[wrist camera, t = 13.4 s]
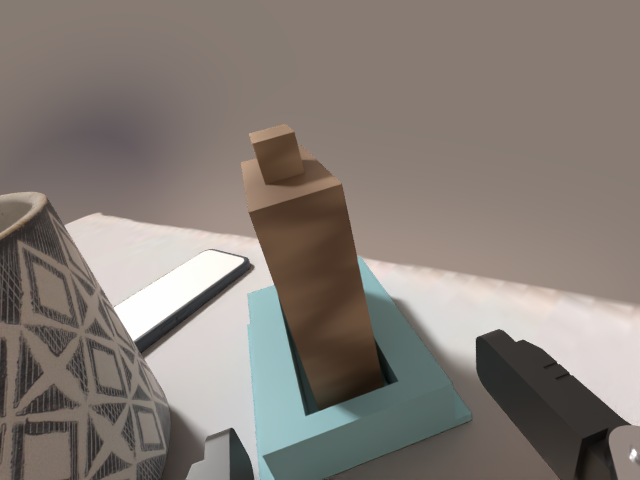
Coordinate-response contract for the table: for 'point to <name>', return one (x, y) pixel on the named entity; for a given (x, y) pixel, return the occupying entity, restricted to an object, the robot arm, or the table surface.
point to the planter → (68, 363)
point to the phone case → (178, 295)
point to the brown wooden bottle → (312, 265)
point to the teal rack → (350, 416)
